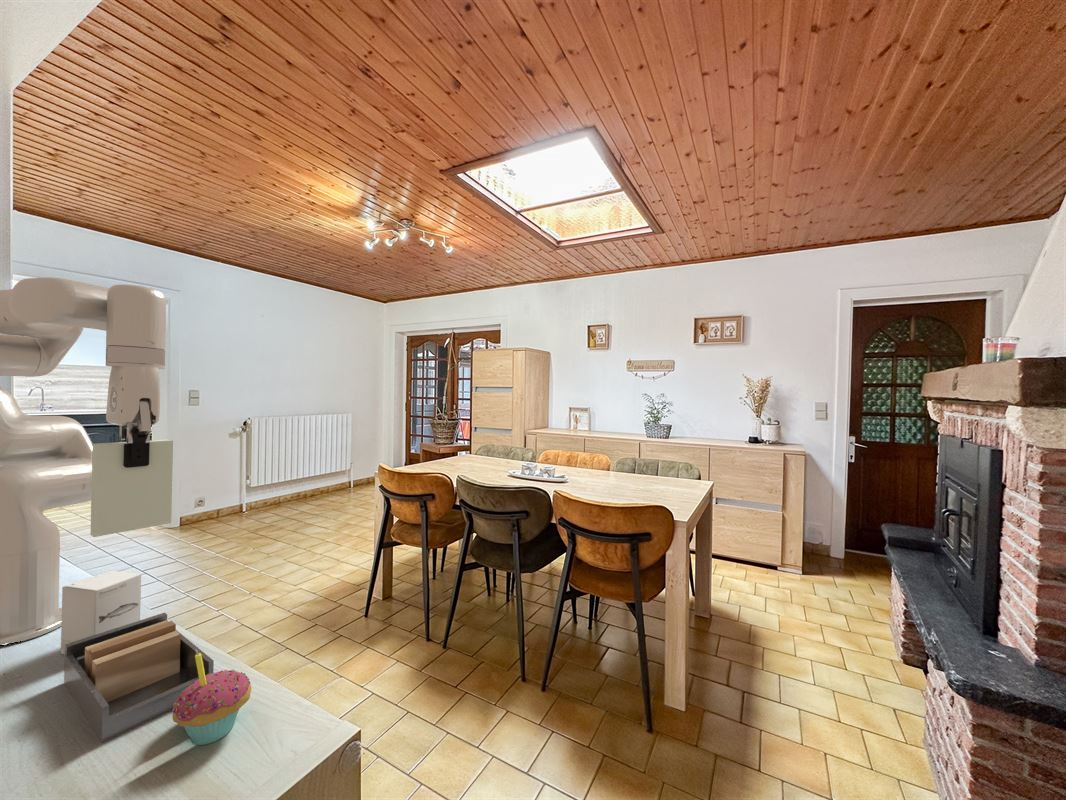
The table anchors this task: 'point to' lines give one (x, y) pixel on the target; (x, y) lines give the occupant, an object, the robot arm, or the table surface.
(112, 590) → the supplement box
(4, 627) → the robot arm
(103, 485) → the grey flat panel
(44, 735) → the table surface
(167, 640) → the offcuts
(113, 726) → the bin
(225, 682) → the cupcake
